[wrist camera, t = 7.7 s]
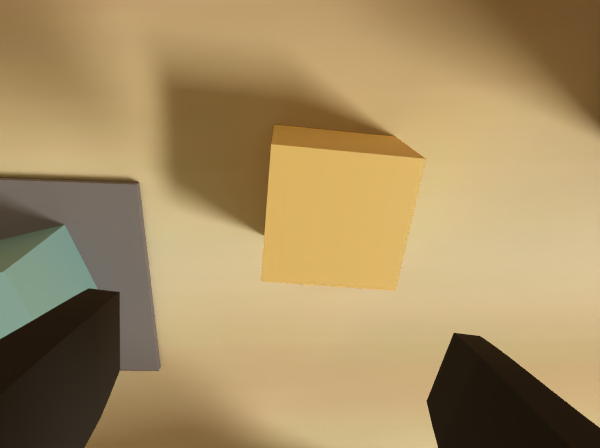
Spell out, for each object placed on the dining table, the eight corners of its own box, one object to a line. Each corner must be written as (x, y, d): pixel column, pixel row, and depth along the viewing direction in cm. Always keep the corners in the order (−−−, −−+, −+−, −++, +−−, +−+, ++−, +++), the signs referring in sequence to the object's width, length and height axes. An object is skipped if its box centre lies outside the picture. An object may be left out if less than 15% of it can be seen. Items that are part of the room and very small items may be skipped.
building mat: (160, 366, 21) (158, 370, 20) (-40, 364, 20) (-45, 368, 20) (139, 182, 17) (136, 184, 16) (-111, 173, 16) (-118, 175, 16)
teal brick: (15, 339, 19) (-49, 406, 15) (-43, 250, 17) (-132, 302, 14) (112, 317, 19) (70, 381, 15) (64, 224, 17) (3, 271, 13)
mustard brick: (373, 243, 18) (395, 290, 15) (266, 235, 18) (260, 281, 14) (394, 135, 16) (425, 158, 13) (274, 124, 16) (271, 144, 12)
